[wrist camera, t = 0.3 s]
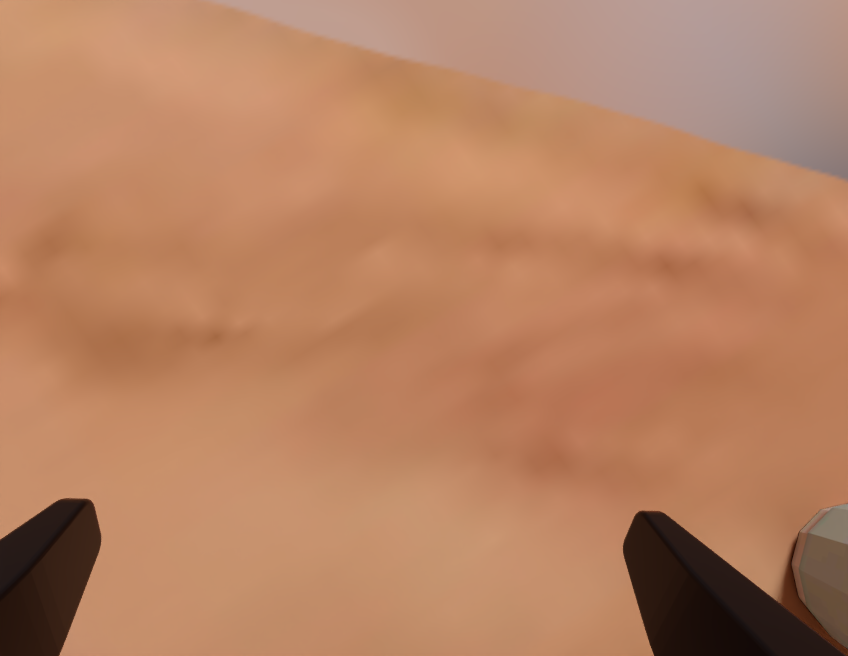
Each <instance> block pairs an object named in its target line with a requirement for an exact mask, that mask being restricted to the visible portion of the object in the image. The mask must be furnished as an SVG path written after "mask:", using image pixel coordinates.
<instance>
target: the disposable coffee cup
mask: <svg viewBox="0 0 848 656" xmlns="http://www.w3.org/2000/svg"><path fill="white" fill-rule="evenodd" d="M791 564H792V569H793V573H794V578H795V582H796V587H797V592H798V596H799V598H800V599H801V600H802V602H803V603H804V604H805V605H806V607H807V608H808V609H809V610H810V612H811V613H812V614H813V615H814V617H815V618H816V619H817V620H818V621H819V623H820V624H821V625H822V626H823V627H824V629H825V630H826V631H827V632H828V634H829V635H830V636H831V637H832V638H834V639H835V640H836V641H838V642H839V643H840V644H841V645H843V646H844V647H845V648H847V649H848V504H844V505H839V506H835V507H830V508H826V509H821V510H820V511H819V512H818V513H817V514H816V515H815V516H814V517H813V518H812V519H811V520H810V521H809V522H808V524H807V525H806V526H805V527H804V528H803V529H802V530H801V531H800V532H799V536H798V540H797V544H796V548H795V552H794V555H793V559H792V563H791Z"/></svg>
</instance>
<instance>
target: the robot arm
mask: <svg viewBox="0 0 848 656" xmlns="http://www.w3.org/2000/svg"><path fill="white" fill-rule="evenodd" d="M100 546H101V532H100V528H99V524H98V519H97V515H96V511H95V507H94V504H93V502H92V501H91V500H89V499H74V498H65V499H61V500H58V501H56V502H55V503H53V504H52V505H50V506H49V507H47V508H46V509H44V510H43V511H42V512H40V513H39V514H37V515H36V516H34V517H33V518H31V519H30V520H28V521H27V522H25V523H24V524H22V525H21V526H20V527H18V528H17V529H15V530H14V531H12V532H11V533H9V534H8V535H6V536H5V537H3V538H2V539H0V656H59V655H60V652H61V650H62V647H63V645H64V642H65V640H66V637H67V635H68V632H69V630H70V627H71V624H72V622H73V619H74V616H75V614H76V611H77V608H78V606H79V603H80V601H81V598H82V595H83V593H84V590H85V587H86V585H87V582H88V579H89V577H90V574H91V572H92V569H93V566H94V564H95V561H96V558H97V556H98V553H99V550H100ZM623 554H624V559H625V562H626V565H627V569H628V572H629V576H630V579H631V582H632V586H633V589H634V593H635V596H636V600H637V603H638V606H639V610H640V613H641V617H642V620H643V624H644V627H645V630H646V633H647V636H648V640H649V643H650V646H651V648H652V651H653V654H654V656H846V655H845V654H843V653H842V652H841V651H840V650H838V649H837V648H836V647H834V646H833V645H832V644H831V643H829V642H828V641H827V640H826V639H824V638H823V637H822V636H820V635H819V634H818V633H817V632H815V631H814V630H813V629H811V628H810V627H809V626H808V625H806V624H805V623H804V622H803V621H801V620H800V619H799V618H797V617H796V616H795V615H794V614H792V613H791V612H790V611H788V610H787V609H786V608H785V607H783V606H782V605H781V604H780V603H778V602H777V601H776V600H774V599H773V598H772V597H771V596H769V595H768V594H767V593H766V592H764V591H763V590H762V589H760V588H759V587H758V586H757V585H755V584H754V583H753V582H751V581H750V580H749V579H748V578H746V577H745V576H744V575H743V574H741V573H740V572H739V571H737V570H736V569H735V568H734V567H732V566H731V565H730V564H729V563H727V562H726V561H725V560H723V559H722V558H721V557H720V556H718V555H717V554H716V553H714V552H713V551H712V550H711V549H709V548H708V547H707V546H706V545H704V544H703V543H702V542H700V541H699V540H698V539H697V538H695V537H694V536H693V535H691V534H690V533H689V532H688V531H686V530H685V529H684V528H683V527H681V526H680V525H679V524H677V523H676V522H675V521H674V520H672V519H671V518H670V517H669V516H667V515H666V514H664V513H663V512H660V511H639V512H638V513H637V514H636V515H635V516H634V519H633V521H632V523H631V526H630V528H629V530H628V533H627V535H626V537H625V540H624V544H623Z"/></svg>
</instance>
